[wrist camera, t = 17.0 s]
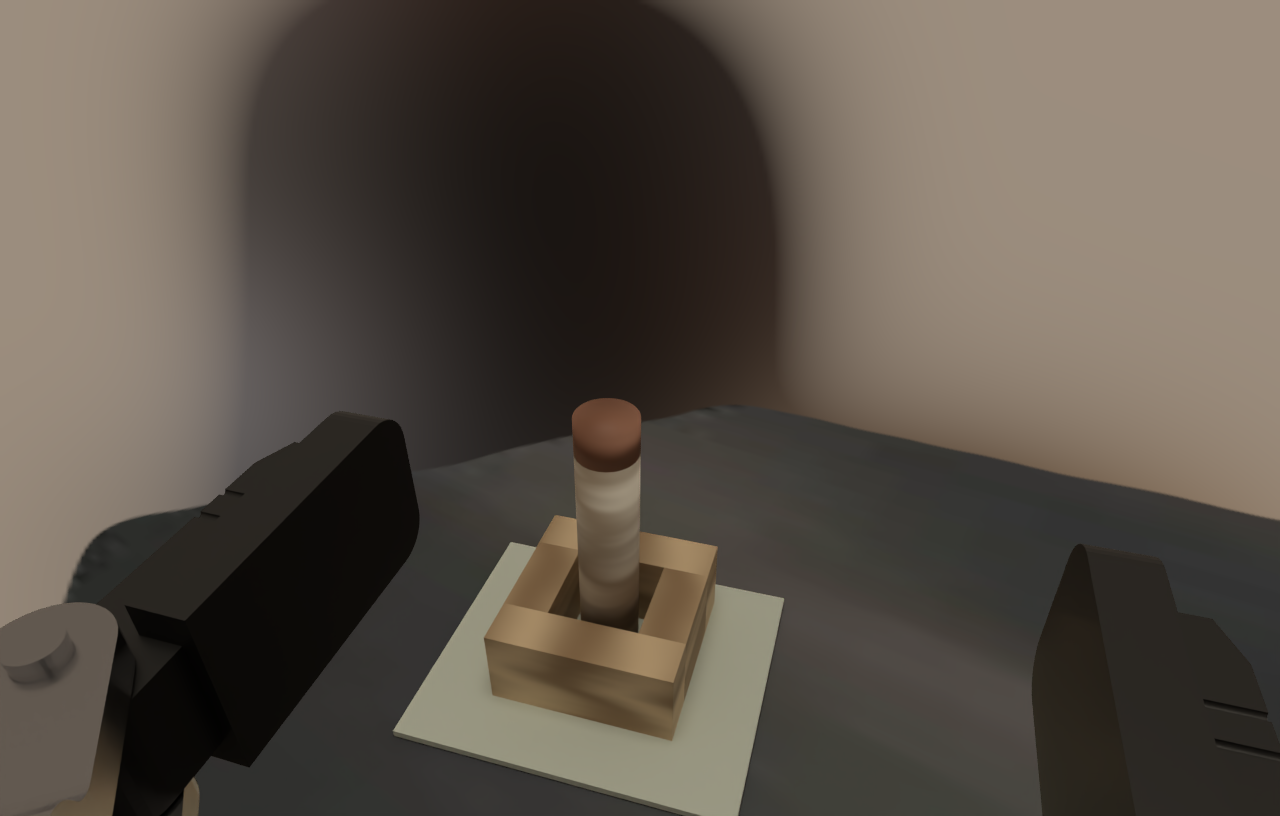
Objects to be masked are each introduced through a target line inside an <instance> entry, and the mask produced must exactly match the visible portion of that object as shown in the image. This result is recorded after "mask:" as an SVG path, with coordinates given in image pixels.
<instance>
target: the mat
mask: <svg viewBox="0 0 1280 816" xmlns="http://www.w3.org/2000/svg"><path fill="white" fill-rule="evenodd" d="M535 549H536V547H532V546H527V545H522V544H517V543H512V542H511V543H510V545H509V546H508V548H507V549H506V551H505V553H504V554H503V556H502V557H501V559H500V561H499V562H498V564H497V565H496V567H495V569H494V570H493V572H492V573H491V575H490V577H489V578H488V580H487V581H486V583H485V585H484V586H483V588H482V589H481V591H480V593H479V594H478V596H477V597H476V599H475V601H474V602H473V604H472V605H471V607H470V609H469V610H468V612H467V613H466V615H465V617H464V618H463V620H462V621H461V623H460V625H459V626H458V628H457V629H456V631H455V633H454V634H453V636H452V637H451V639H450V641H449V642H448V644H447V645H446V647H445V649H444V650H443V652H442V653H441V655H440V657H439V658H438V660H437V661H436V663H435V665H434V666H433V668H432V669H431V671H430V673H429V674H428V676H427V677H426V679H425V681H424V682H423V684H422V685H421V687H420V689H419V690H418V692H417V693H416V695H415V697H414V698H413V700H412V701H411V703H410V705H409V706H408V708H407V709H406V711H405V713H404V714H403V716H402V717H401V719H400V721H399V722H398V724H397V725H396V727H395V729H394V730H393V733H394V736H397V737H400V738H404V739H407V740H411V741H415V742H418V743H422V744H426V745H429V746H433V747H436V748H440V749H444V750H447V751H451V752H455V753H458V754H462V755H465V756H469V757H473V758H476V759H480V760H484V761H487V762H491V763H494V764H498V765H502V766H505V767H509V768H513V769H516V770H520V771H523V772H527V773H531V774H534V775H538V776H542V777H545V778H549V779H552V780H556V781H560V782H563V783H567V784H571V785H574V786H578V787H581V788H585V789H589V790H592V791H596V792H600V793H603V794H607V795H610V796H614V797H618V798H621V799H625V800H629V801H632V802H636V803H639V804H643V805H647V806H650V807H654V808H658V809H661V810H665V811H668V812H672V813H676V814H679V815H683V816H738V815H739V810H740V805H741V800H742V796H743V791H744V786H745V782H746V777H747V772H748V768H749V763H750V758H751V754H752V749H753V744H754V740H755V735H756V730H757V725H758V721H759V716H760V711H761V707H762V702H763V697H764V693H765V688H766V683H767V679H768V674H769V669H770V664H771V660H772V655H773V650H774V646H775V641H776V636H777V632H778V627H779V622H780V618H781V613H782V608H783V604H784V598H779V597H774V596H769V595H764V594H760V593H755V592H750V591H745V590H740V589H735V588H730V587H726V586H721V585H716V584H715V599H714V605H713V608H712V612H711V615H710V618H709V621H708V625H707V628H706V631H705V634H704V638H703V641H702V644H701V648H700V651H699V654H698V657H697V661H696V664H695V667H694V670H693V674H692V677H691V680H690V684H689V687H688V690H687V693H686V697H685V700H684V703H683V707H682V710H681V713H680V716H679V720H678V723H677V726H676V729H675V733H674V736H673V739H672V741H670V740H666V739H662V738H658V737H654V736H650V735H646V734H642V733H638V732H635V731H631V730H627V729H623V728H619V727H615V726H611V725H607V724H603V723H599V722H595V721H591V720H587V719H584V718H580V717H576V716H572V715H568V714H564V713H560V712H556V711H552V710H548V709H544V708H540V707H536V706H533V705H529V704H525V703H521V702H517V701H513V700H509V699H505V698H501V697H497V696H493V695H492V689H491V682H490V675H489V669H488V662H487V656H486V649H485V643H484V636H485V635H486V633H487V631H488V630H489V628H490V626H491V624H492V623H493V621H494V619H495V618H496V616H497V614H498V612H499V611H500V609H501V607H502V606H503V604H504V602H505V600H506V599H507V597H508V595H509V594H510V592H511V590H512V588H513V587H514V585H515V583H516V582H517V580H518V578H519V576H520V575H521V573H522V571H523V570H524V568H525V566H526V564H527V563H528V561H529V559H530V558H531V556H532V554H533V552H534V551H535ZM577 620H581V612H580V614H579V616H578V618H577ZM643 621H644V619H640V618H639V629H638V633H639V631H640V628H641V626H642V623H643Z"/></svg>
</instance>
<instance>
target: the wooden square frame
mask: <svg viewBox="0 0 1280 816" xmlns="http://www.w3.org/2000/svg"><path fill="white" fill-rule="evenodd" d="M717 548H718V547H716V546H711V545H706V544H701V543H696V542H691V541H686V540H681V539H675V538H670V537H665V536H660V535H655V534H650V533H645V532H640V544H639V618H640V619H644V621H643V623H642V626H641V628H640V631H639V633H635V632H630V631H626V630H621V629H617V628H613V627H608V626H604V625H599V624H595V623H590V622H586V621H582V620H577V618H578V616H579V614H580V612H581V610H580V587H579V564H578V542H577V519H573V518H568V517H563V516H558V515H555V516H554V518H553V520H552V522H551V523H550V525H549V527H548V528H547V530H546V532H545V534H544V535H543V537H542V539H541V540H540V542H539V544H538V546H537V547H536V549H535V551H534V552H533V554H532V556H531V558H530V559H529V561H528V563H527V564H526V566H525V568H524V570H523V571H522V573H521V575H520V576H519V578H518V580H517V582H516V583H515V585H514V587H513V588H512V590H511V592H510V594H509V595H508V597H507V599H506V600H505V602H504V604H503V606H502V607H501V609H500V611H499V612H498V614H497V616H496V618H495V619H494V621H493V623H492V624H491V626H490V628H489V630H488V631H487V633H486V635H485V636H484V643H485V649H486V656H487V662H488V669H489V675H490V682H491V689H492V695H493V696H497V697H501V698H505V699H509V700H513V701H517V702H521V703H525V704H529V705H533V706H536V707H540V708H544V709H548V710H552V711H556V712H560V713H564V714H568V715H572V716H576V717H580V718H584V719H587V720H591V721H595V722H599V723H603V724H607V725H611V726H615V727H619V728H623V729H627V730H631V731H635V732H638V733H642V734H646V735H650V736H654V737H658V738H662V739H666V740H670V741H672V739H673V736H674V733H675V729H676V726H677V723H678V720H679V716H680V713H681V710H682V707H683V703H684V700H685V697H686V693H687V690H688V687H689V684H690V680H691V677H692V674H693V670H694V667H695V664H696V661H697V657H698V654H699V651H700V648H701V644H702V641H703V638H704V634H705V631H706V628H707V625H708V621H709V618H710V615H711V612H712V608H713V605H714V599H715V582H716V565H717Z"/></svg>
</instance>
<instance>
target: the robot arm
mask: <svg viewBox="0 0 1280 816" xmlns="http://www.w3.org/2000/svg"><path fill="white" fill-rule="evenodd" d="M418 530H419V508H418V503H417V499H416V494H415V489H414V484H413V479H412V474H411V469H410V464H409V459H408V454H407V449H406V444H405V439H404V435H403V431H402V429H401V427H400V426H399V424H398V423H397V422H395V421H393V420H389V419H384V418H378V417H372V416H366V415H360V414H355V413H349V412H343V411H339V412H335V413H333V414H331V415H330V416H329V417H327V418H326V419H325V420H324V421H323V422H322V423H321V424H320V425H318V426H317V427H316V428H315V429H314V430H313V431H312V432H311V433H310V434H309V435H308V436H307V437H306V438H304V439H303V440H302V441H301V442H300V443H296V442H294V443H292V444H290V445H288V446H287V447H284V448H282V449H281V450H279V451H277V452H275V453H273V454H271V455H269V456H267V457H265V458H263V459H261V460H260V461H257V462H256V463H254V464H253V465H252V466H251V467H250V468H249V469H247V471H245V472H244V473H243V474H242V475H241V476H240V477H239V478H237V479H236V480H235V481H234V482H233V483H232V484H231V485H230V486H228V487H227V488H226V489H225V494H224V495H218V496H217V497H216V498H215V499H214V500H213V501H212V502H211V503H209V504H208V505H207V506H206V507H205V508H204V509H203V510H202V511H201V515H200V517H199V518H197V517H194V518H193V519H192V520H190V521H189V522H188V523H187V524H186V525H185V526H184V527H183V528H181V529H180V530H179V531H178V532H177V533H176V534H175V535H174V536H172V537H171V538H170V539H169V540H168V541H167V542H166V543H165V544H164V545H162V546H161V547H160V548H159V549H158V550H157V551H156V552H155V553H153V554H152V555H151V556H150V557H149V558H148V559H147V560H146V561H144V562H143V563H142V564H141V565H140V566H139V567H138V568H137V569H136V570H134V571H133V572H132V573H131V574H130V575H129V576H128V577H127V578H125V579H124V580H123V581H122V582H121V583H120V584H119V585H118V586H116V587H115V588H114V589H113V590H112V591H111V592H110V593H109V594H108V595H106V596H105V597H104V598H103V599H102V600H101V601H99V602H98V603H97V604H96V605H95V604H91V603H79V602H77V603H65V604H59V605H54V606H50V607H46V608H43V609H40V610H37V611H34V612H31V613H29V614H27V615H24V616H22V617H20V618H18V619H16V620H14V621H12V622H10V623H8V624H7V625H5V626H3V627H2V628H0V816H198V807H199V786H198V783H197V780H196V778H195V775H196V774H197V772H198V771H199V770H200V769H201V767H202V766H203V765H204V764H205V763H206V761H207V760H208V759H209V758H210V756H213V757H216V758H220V759H223V760H226V761H230V762H233V763H236V764H239V765H243V766H246V767H250V766H251V765H252V763H253V762H254V761H255V759H256V758H257V757H258V755H259V754H260V753H261V751H262V750H263V749H264V747H265V746H266V745H267V744H268V742H269V741H270V740H271V738H272V737H273V736H274V734H275V733H276V732H277V730H278V729H279V728H280V726H281V725H282V724H283V722H284V721H285V720H286V718H287V717H288V716H289V715H290V713H291V712H292V711H293V709H294V708H295V707H296V705H297V704H298V703H299V701H300V700H301V699H302V697H303V696H304V695H305V693H306V692H307V691H308V689H309V688H310V687H311V686H312V684H313V683H314V682H315V680H316V679H317V678H318V676H319V675H320V674H321V672H322V671H323V670H324V668H325V667H326V666H327V664H328V663H329V662H330V660H331V659H332V658H333V656H334V655H335V654H336V653H337V651H338V650H339V649H340V647H341V646H342V645H343V643H344V642H345V641H346V639H347V638H348V637H349V635H350V634H351V633H352V631H353V630H354V629H355V627H356V626H357V625H358V624H359V622H360V621H361V620H362V618H363V617H364V616H365V614H366V613H367V612H368V610H369V609H370V608H371V606H372V605H373V604H374V602H375V601H376V600H377V598H378V597H379V596H380V595H381V593H382V592H383V591H384V589H385V588H386V587H387V585H388V584H389V583H390V581H391V580H392V579H393V577H394V576H395V575H396V573H397V572H398V571H399V569H400V568H401V567H402V566H403V564H404V563H405V562H406V560H407V559H408V557H409V555H410V554H411V552H412V550H413V547H414V545H415V542H416V539H417V535H418ZM1032 704H1033V715H1034V726H1035V737H1036V748H1037V759H1038V770H1039V781H1040V792H1041V803H1042V814H1043V816H1280V744H1279V741H1278V738H1277V736H1276V733H1275V730H1274V727H1273V724H1272V722H1268V721H1267V715H1268V711H1267V708H1266V705H1265V702H1264V699H1263V697H1262V694H1261V691H1260V688H1259V686H1258V683H1257V680H1256V677H1255V674H1254V672H1253V669H1252V666H1251V664H1250V663H1249V662H1248V660H1247V659H1246V658H1245V657H1244V656H1243V655H1242V653H1241V652H1240V651H1239V650H1238V649H1237V647H1236V646H1235V645H1234V644H1233V643H1232V642H1231V640H1230V639H1229V638H1228V637H1227V636H1226V635H1225V633H1224V632H1223V631H1222V630H1221V629H1220V627H1219V626H1218V625H1217V624H1216V623H1215V622H1214V620H1213V619H1210V618H1204V617H1199V616H1194V615H1189V614H1183V613H1178V612H1177V608H1176V605H1175V601H1174V598H1173V594H1172V591H1171V587H1170V584H1169V581H1168V577H1167V574H1166V570H1165V568H1164V565H1163V563H1162V561H1161V560H1160V559H1159V558H1157V557H1153V556H1147V555H1141V554H1136V553H1130V552H1124V551H1119V550H1113V549H1107V548H1102V547H1096V546H1090V545H1085V544H1078V545H1076V546H1075V548H1074V549H1073V551H1072V552H1071V554H1070V557H1069V559H1068V562H1067V565H1066V567H1065V570H1064V573H1063V576H1062V579H1061V581H1060V584H1059V587H1058V590H1057V592H1056V595H1055V598H1054V601H1053V603H1052V606H1051V609H1050V612H1049V615H1048V617H1047V620H1046V623H1045V626H1044V628H1043V631H1042V634H1041V637H1040V640H1039V643H1038V646H1037V650H1036V655H1035V660H1034V667H1033V677H1032Z"/></svg>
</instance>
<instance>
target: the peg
mask: <svg viewBox="0 0 1280 816" xmlns="http://www.w3.org/2000/svg"><path fill="white" fill-rule="evenodd" d="M572 428H573V451H574V473H575V496H576V519H577V542H578V564H579V587H580V610H581V620H582V621H586V622H590V623H595V624H599V625H604V626H608V627H613V628H617V629H621V630H626V631H630V632H635V633H638V629H639V544H640V460H641V414H640V412H639V410H638V409H637V408H636V407H635V406H634V405H632V404H631V403H629V402H626V401H623V400H619V399H613V398H601V399H595V400H591V401H588V402H586V403H584V404H582V405H580V406H579V407H578V408H577V409H576V410H575V411H574V413H573V416H572Z"/></svg>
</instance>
